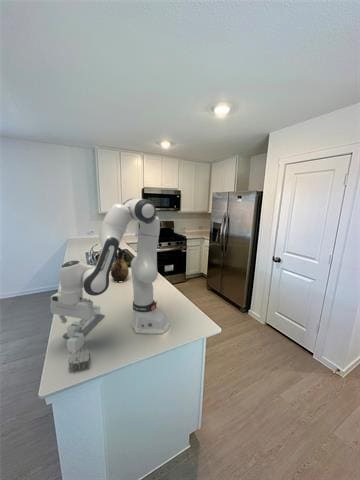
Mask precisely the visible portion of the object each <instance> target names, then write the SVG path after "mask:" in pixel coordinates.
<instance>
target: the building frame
mask: <svg viewBox="0 0 360 480" xmlns="http://www.w3.org/2000/svg"><path fill="white" fill-rule="evenodd" d="M90 349H91V348H90V347H89V348H88V350H87V351H86V348H84V351H83V352H82V351H81V348H80V349H79V352H78V351H77V350H76V353H71V351H70V352H69V354H70V355H69V356H68V373H69V372H70V371H71V370H70V369H71V368H72V373H73V374H74V373H75V372H74V371H76V370H77V366H78V371H81V365H82V364H81V363H83V365H82V367H83V369H85V365H86V362H88V366H87V367H88V369H91V368H90V367H91V365H90V361H91V351H90ZM72 365H74V366H72ZM71 366H72V367H71Z"/></svg>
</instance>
